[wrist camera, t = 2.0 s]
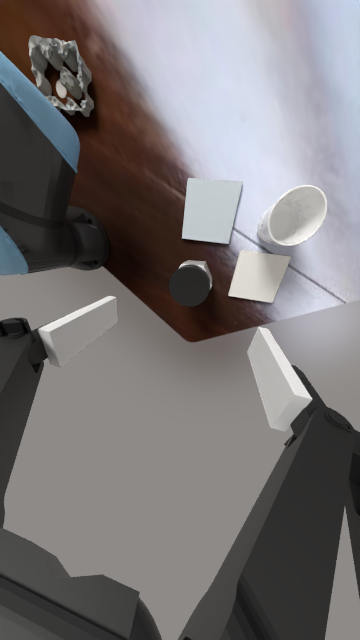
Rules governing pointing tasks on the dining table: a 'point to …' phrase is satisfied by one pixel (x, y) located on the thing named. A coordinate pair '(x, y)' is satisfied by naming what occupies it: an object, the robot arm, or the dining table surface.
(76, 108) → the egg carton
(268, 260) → the tile shorter
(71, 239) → the robot arm
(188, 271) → the jar
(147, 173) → the dining table surface
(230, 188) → the light grey square tile
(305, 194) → the white cup
